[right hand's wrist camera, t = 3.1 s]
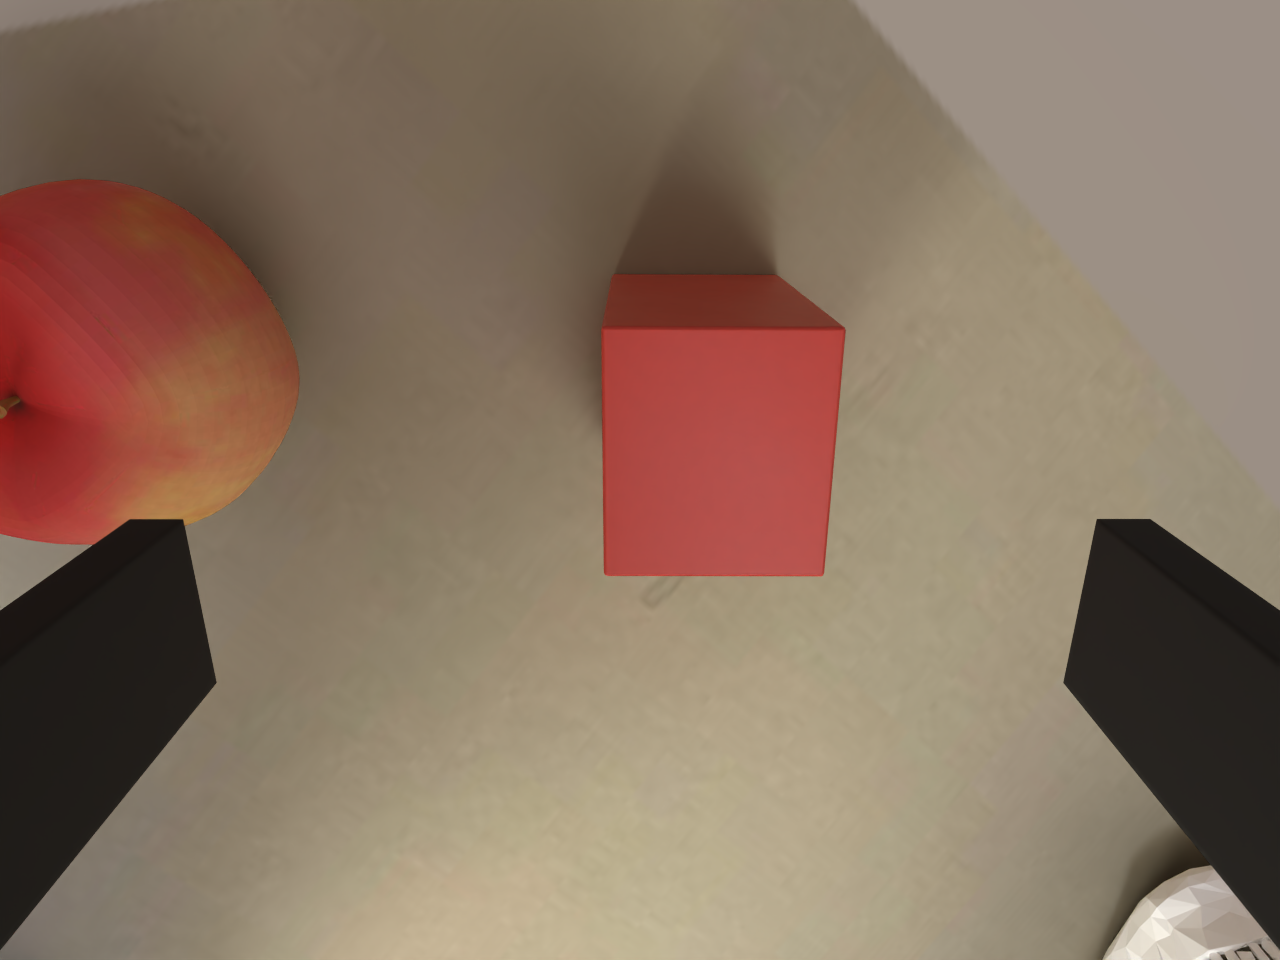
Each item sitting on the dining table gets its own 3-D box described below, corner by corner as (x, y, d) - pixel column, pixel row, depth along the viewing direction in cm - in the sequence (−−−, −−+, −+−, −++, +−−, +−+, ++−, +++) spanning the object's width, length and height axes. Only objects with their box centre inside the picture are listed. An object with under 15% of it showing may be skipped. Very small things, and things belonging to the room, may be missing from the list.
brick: (611, 273, 28) (600, 326, 19) (778, 274, 28) (847, 327, 19) (612, 453, 30) (603, 577, 21) (768, 454, 30) (824, 577, 21)
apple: (99, 477, 30) (-141, 619, 21) (4, 194, 27) (-333, 211, 18) (368, 451, 30) (247, 584, 21) (305, 163, 27) (126, 163, 17)
